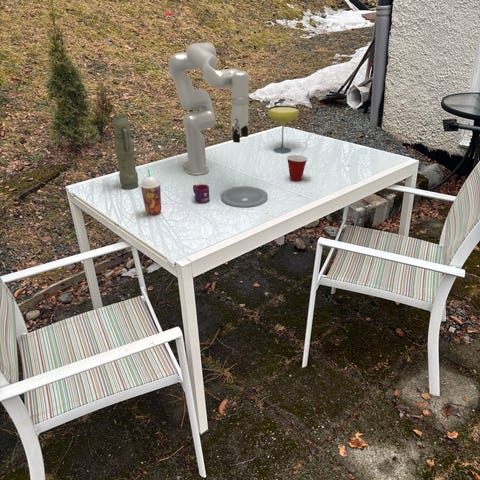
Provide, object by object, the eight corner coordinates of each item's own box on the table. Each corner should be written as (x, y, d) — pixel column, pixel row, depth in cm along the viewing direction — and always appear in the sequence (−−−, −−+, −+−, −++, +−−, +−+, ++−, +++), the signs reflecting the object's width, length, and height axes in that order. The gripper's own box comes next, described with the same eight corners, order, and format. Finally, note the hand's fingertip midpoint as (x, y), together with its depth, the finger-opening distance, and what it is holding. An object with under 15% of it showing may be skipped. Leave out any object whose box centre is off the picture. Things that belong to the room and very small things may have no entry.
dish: (212, 202, 203) (212, 200, 203) (233, 185, 221) (233, 183, 220) (256, 210, 195) (256, 208, 194) (274, 192, 212) (274, 190, 212)
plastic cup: (310, 178, 228) (312, 156, 222) (298, 184, 221) (299, 162, 215) (294, 173, 234) (295, 152, 228) (281, 179, 227) (282, 157, 221)
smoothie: (145, 209, 198) (139, 167, 188) (163, 208, 198) (159, 166, 189) (143, 217, 191) (137, 174, 181) (162, 216, 191) (157, 173, 181)
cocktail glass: (265, 146, 276) (266, 106, 264) (293, 145, 278) (295, 105, 265) (270, 155, 260) (271, 113, 248) (299, 154, 262) (302, 112, 250)
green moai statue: (132, 180, 228) (123, 112, 211) (143, 187, 220) (134, 117, 203) (116, 184, 224) (105, 115, 206) (126, 191, 215) (116, 120, 198)
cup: (199, 204, 201) (198, 191, 198) (189, 197, 209) (188, 184, 205) (212, 201, 205) (211, 187, 201) (201, 194, 212) (201, 181, 209)
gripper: (239, 96, 202) (240, 133, 210) (224, 104, 188) (225, 143, 197) (255, 97, 199) (254, 135, 208) (240, 106, 186) (241, 145, 194)
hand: (240, 139), depth 202 cm, fingers open, 9 cm apart
